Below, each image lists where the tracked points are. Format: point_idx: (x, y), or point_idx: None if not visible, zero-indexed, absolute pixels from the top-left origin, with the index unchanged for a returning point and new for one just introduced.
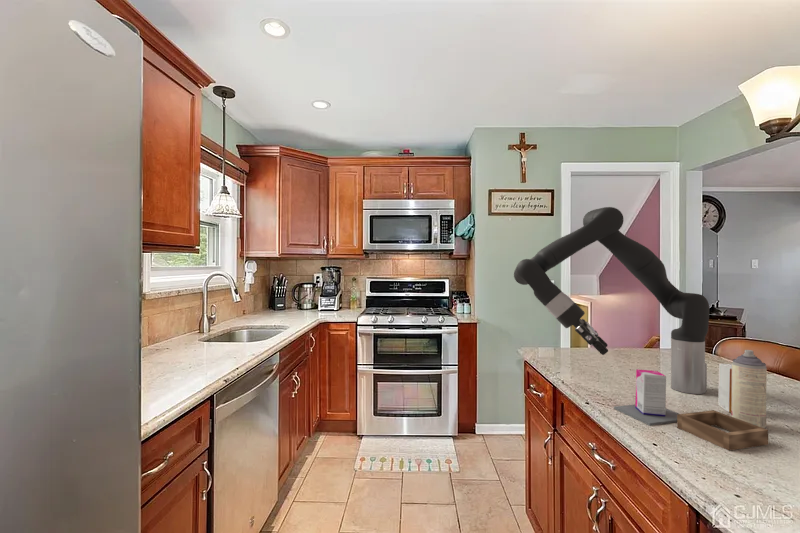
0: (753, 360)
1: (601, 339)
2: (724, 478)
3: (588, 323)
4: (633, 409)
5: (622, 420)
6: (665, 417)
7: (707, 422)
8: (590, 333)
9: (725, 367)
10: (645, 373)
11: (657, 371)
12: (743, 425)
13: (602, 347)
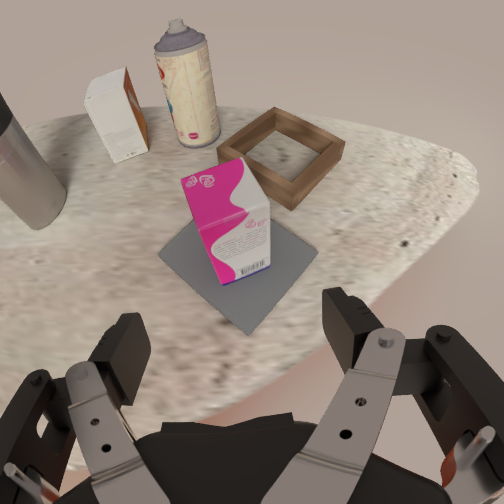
0: (195, 30)
1: (122, 344)
2: (431, 177)
3: (132, 490)
4: (239, 289)
5: None
6: None
7: None
8: (478, 368)
9: (107, 94)
10: (254, 199)
11: (191, 176)
12: (261, 126)
13: (369, 311)
